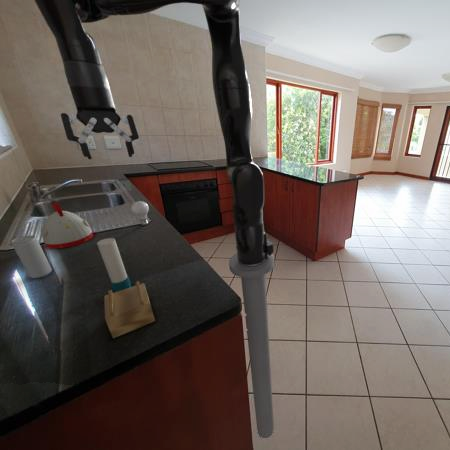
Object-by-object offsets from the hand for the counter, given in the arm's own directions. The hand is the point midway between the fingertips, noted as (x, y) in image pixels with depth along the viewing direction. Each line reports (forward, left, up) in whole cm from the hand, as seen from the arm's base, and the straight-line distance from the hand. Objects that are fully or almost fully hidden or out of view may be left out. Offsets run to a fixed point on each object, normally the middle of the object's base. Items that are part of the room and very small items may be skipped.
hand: (111, 157), depth 62 cm
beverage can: (+25, -14, -34) cm, 45 cm away
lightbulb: (-5, -39, -34) cm, 52 cm away
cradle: (+5, +23, -34) cm, 41 cm away
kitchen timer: (+20, -39, -34) cm, 56 cm away
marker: (+6, +9, -27) cm, 29 cm away
